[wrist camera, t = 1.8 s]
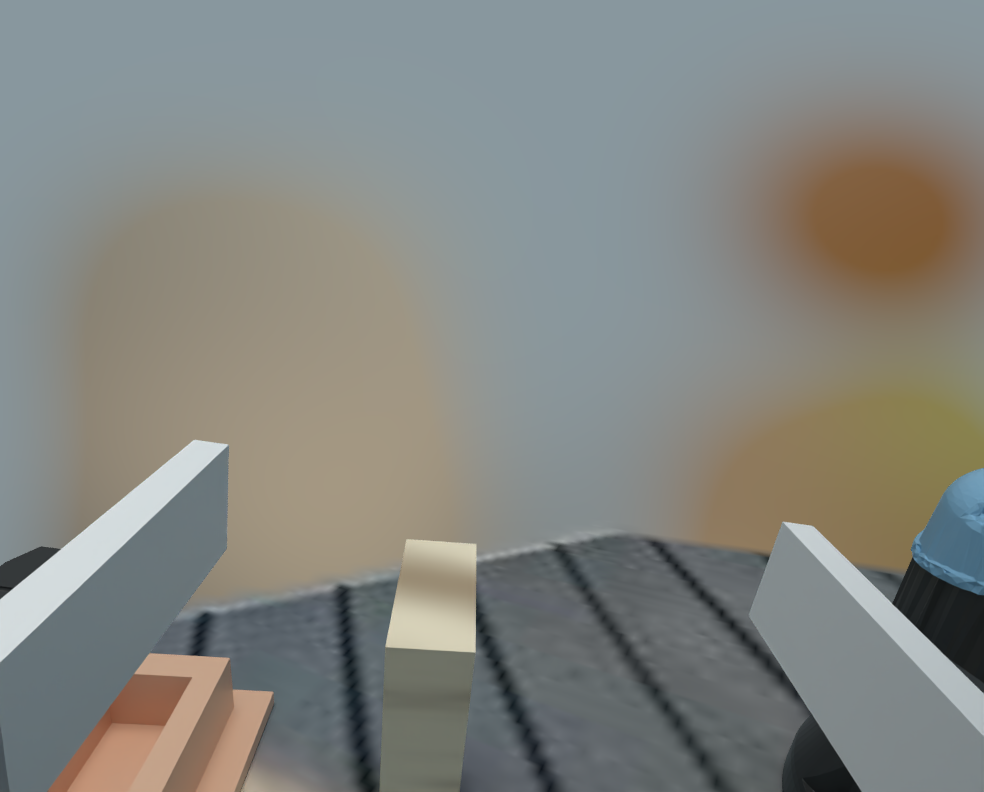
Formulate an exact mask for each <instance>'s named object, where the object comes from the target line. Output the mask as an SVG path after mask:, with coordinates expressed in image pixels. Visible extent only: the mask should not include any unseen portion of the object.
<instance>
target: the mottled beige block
mask: <svg viewBox="0 0 984 792" xmlns="http://www.w3.org/2000/svg"><path fill="white" fill-rule="evenodd" d="M475 636H476V544H467V543H453V542H438V541H425V540H410V539H407V540H406V545H405V550H404V555H403V560H402V565H401V570H400V575H399V581H398V586H397V591H396V596H395V601H394V606H393V611H392V616H391V621H390V626H389V631H388V637H387V642H386V647H385V670H384V695H383V720H382V745H381V770H380V792H459V791H460V782H461V774H462V765H463V756H464V747H465V739H466V730H467V721H468V713H469V704H470V695H471V686H472V678H473V669H474V660H475Z"/></svg>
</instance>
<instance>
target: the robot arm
mask: <svg viewBox="0 0 984 792" xmlns="http://www.w3.org/2000/svg"><path fill="white" fill-rule="evenodd" d="M228 457H229V445H227V444H220V443H212V442H206V441H198V440H194V441H192V442H191V443H190V444H189V445H187V446H186V447H185V448H184V449H183V450H181V451H180V452H179V453H178V454H176V455H175V456H174V457H173V458H172V459H170V460H169V461H168V462H167V463H165V464H164V465H163V466H162V467H161V468H159V469H158V470H157V471H156V472H155V473H153V474H152V475H151V476H150V477H148V478H147V479H146V480H145V481H144V482H142V483H141V484H140V485H139V486H138V487H136V488H135V489H134V490H133V491H131V492H130V493H129V494H128V495H127V496H125V497H124V498H123V499H122V500H121V501H119V502H118V503H117V504H116V505H114V506H113V507H112V508H111V509H110V510H108V511H107V512H106V513H105V514H103V515H102V516H101V517H100V518H99V519H97V520H96V521H95V522H94V523H93V524H91V525H90V526H89V527H88V528H86V529H85V530H84V531H83V532H82V533H80V534H79V535H78V536H77V537H75V538H74V539H73V540H72V541H71V542H69V543H68V544H67V545H66V546H65V547H63V548H62V549H56V548H48V547H39V548H37V549H34V550H32V551H30V552H28V553H25V554H23V555H21V556H19V557H16V558H14V559H12V560H10V561H8V562H5V563H4V564H3V565H1V566H0V792H47V791H48V790H49V788H50V787H51V785H52V784H53V783H54V781H55V780H56V779H57V777H58V776H59V775H60V773H61V772H62V771H63V769H64V768H65V767H66V765H67V764H68V763H69V761H70V760H71V758H72V757H73V756H74V754H75V753H76V752H77V750H78V749H79V748H80V746H81V745H82V744H83V742H84V741H85V740H86V738H87V737H88V735H89V734H90V733H91V731H92V730H93V729H94V727H95V726H96V725H97V723H98V722H99V721H100V719H101V718H102V717H103V715H104V714H105V713H106V711H107V710H108V708H109V707H110V706H111V704H112V703H113V702H114V700H115V699H116V698H117V696H118V695H119V694H120V692H121V691H122V690H123V688H124V687H125V686H126V684H127V683H128V681H129V680H130V679H131V677H132V676H133V675H134V673H135V672H136V671H137V669H138V668H139V667H140V665H141V664H142V663H143V661H144V660H145V659H146V657H147V656H148V654H149V653H150V652H151V650H152V649H153V648H154V646H155V645H156V644H157V642H158V641H159V640H160V638H161V637H162V636H163V634H164V633H165V631H166V630H167V629H168V627H169V626H170V625H171V623H172V622H173V621H174V619H175V618H176V617H177V615H178V614H179V613H180V611H181V610H182V609H183V607H184V606H185V604H186V603H187V602H188V600H189V599H190V598H191V596H192V595H193V594H194V592H195V591H196V589H197V588H198V587H199V586H200V584H201V583H202V582H203V580H204V579H205V577H206V576H207V575H208V573H209V572H210V571H211V569H212V568H213V567H214V565H215V564H216V563H217V561H218V560H219V558H220V557H221V556H222V554H223V553H224V552H225V550H226V549H227V507H228V506H227V505H228ZM911 551H912V553H913V558H912V560H911V562H910V565H909V567H908V569H907V571H906V574H905V576H904V578H903V581H902V583H901V585H900V587H899V590H898V592H897V594H896V597H895V599H894V601H893V603H891V602H890V601H889V600H888V599H887V598H886V597H885V596H884V595H883V594H882V593H881V592H880V591H879V590H878V589H877V588H876V587H875V586H874V585H873V584H872V583H870V582H869V581H868V580H867V579H866V578H865V577H864V576H863V575H862V574H861V573H860V572H859V571H858V570H857V569H856V568H855V567H854V566H853V565H852V564H851V563H850V562H849V561H848V560H847V559H846V558H845V557H844V556H843V555H842V554H841V553H840V552H839V551H838V550H837V549H836V548H835V547H834V546H833V545H832V544H831V543H830V542H829V541H828V540H827V539H826V538H825V537H824V536H822V534H821V533H819V531H818V530H816V529H815V528H814V527H813V526H808V525H802V524H794V523H788V522H783V523H782V525H781V528H780V531H779V533H778V536H777V539H776V542H775V544H774V547H773V550H772V553H771V555H770V558H769V561H768V564H767V566H766V569H765V572H764V575H763V577H762V580H761V583H760V586H759V588H758V591H757V594H756V597H755V599H754V602H753V605H752V608H751V610H750V613H749V617H750V618H751V620H752V622H753V623H754V625H755V626H756V628H757V629H758V631H759V633H760V634H761V636H762V637H763V639H764V640H765V642H766V643H767V645H768V647H769V648H770V650H771V651H772V653H773V654H774V656H775V657H776V659H777V661H778V662H779V664H780V665H781V667H782V668H783V670H784V671H785V673H786V675H787V676H788V678H789V679H790V681H791V682H792V684H793V685H794V687H795V689H796V690H797V692H798V693H799V695H800V696H801V698H802V699H803V701H804V703H805V704H806V706H807V707H808V709H809V710H810V712H811V713H812V715H811V716H810V717H808V718H807V719H806V720H805V722H804V723H803V724H802V726H801V727H800V728H799V730H798V732H797V733H796V736H795V738H794V740H793V743H792V745H791V748H790V750H789V752H788V755H787V757H786V760H785V764H784V769H783V792H984V468H982V469H978V470H975V471H972V472H970V473H967V474H965V475H963V476H961V477H960V478H958V479H957V480H955V481H954V482H953V483H952V484H951V485H950V486H949V487H948V488H947V490H946V491H945V492H944V494H943V496H942V497H941V499H940V501H939V503H938V505H937V507H936V509H935V511H934V512H933V514H932V516H931V518H930V520H929V522H928V524H927V526H926V528H925V529H924V530H923V531H922V532H920V533H919V534H918V535H917V536H916V537H915V539H914V542H913V545H912V547H911Z"/></svg>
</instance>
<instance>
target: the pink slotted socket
mask: <svg viewBox="0 0 984 792" xmlns="http://www.w3.org/2000/svg"><path fill="white" fill-rule="evenodd" d="M273 705H274V692H266V691H248V690H233V689H232V677H231V666H230V658H220V657H203V656H186V655H168V654H151V653H149V654H148V656H147V657H146V659H145V660H144V661H143V663H142V664H141V665H140V667H139V668H138V669H137V671H136V672H135V673H134V675H133V676H132V677H131V679H130V680H129V681H128V683H127V684H126V686H125V687H124V688H123V690H122V691H121V692H120V694H119V695H118V696H117V698H116V699H115V700H114V702H113V703H112V704H111V706H110V707H109V708H108V710H107V711H106V713H105V714H104V715H103V717H102V718H101V719H100V721H99V722H98V723H97V725H96V726H95V727H94V729H93V730H92V731H91V733H90V734H89V735H88V737H87V738H86V740H85V741H84V742H83V744H82V745H81V746H80V748H79V749H78V750H77V752H76V753H75V754H74V756H73V757H72V758H71V760H70V761H69V763H68V764H67V765H66V767H65V768H64V769H63V771H62V772H61V773H60V775H59V776H58V777H57V779H56V780H55V781H54V783H53V784H52V785H51V787H50V788H49V790H48V791H47V792H240V791H241V788H242V786H243V783H244V780H245V778H246V775H247V773H248V770H249V767H250V765H251V762H252V760H253V757H254V754H255V752H256V749H257V747H258V744H259V741H260V739H261V736H262V733H263V731H264V728H265V726H266V723H267V720H268V718H269V715H270V713H271V710H272V707H273Z"/></svg>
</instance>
